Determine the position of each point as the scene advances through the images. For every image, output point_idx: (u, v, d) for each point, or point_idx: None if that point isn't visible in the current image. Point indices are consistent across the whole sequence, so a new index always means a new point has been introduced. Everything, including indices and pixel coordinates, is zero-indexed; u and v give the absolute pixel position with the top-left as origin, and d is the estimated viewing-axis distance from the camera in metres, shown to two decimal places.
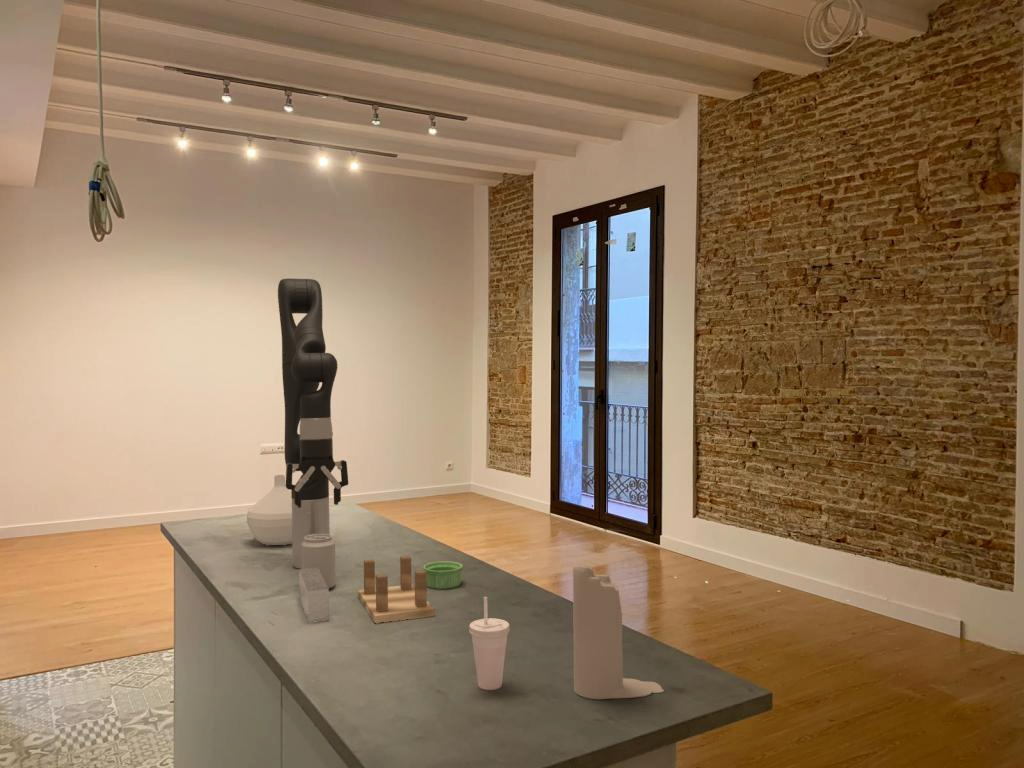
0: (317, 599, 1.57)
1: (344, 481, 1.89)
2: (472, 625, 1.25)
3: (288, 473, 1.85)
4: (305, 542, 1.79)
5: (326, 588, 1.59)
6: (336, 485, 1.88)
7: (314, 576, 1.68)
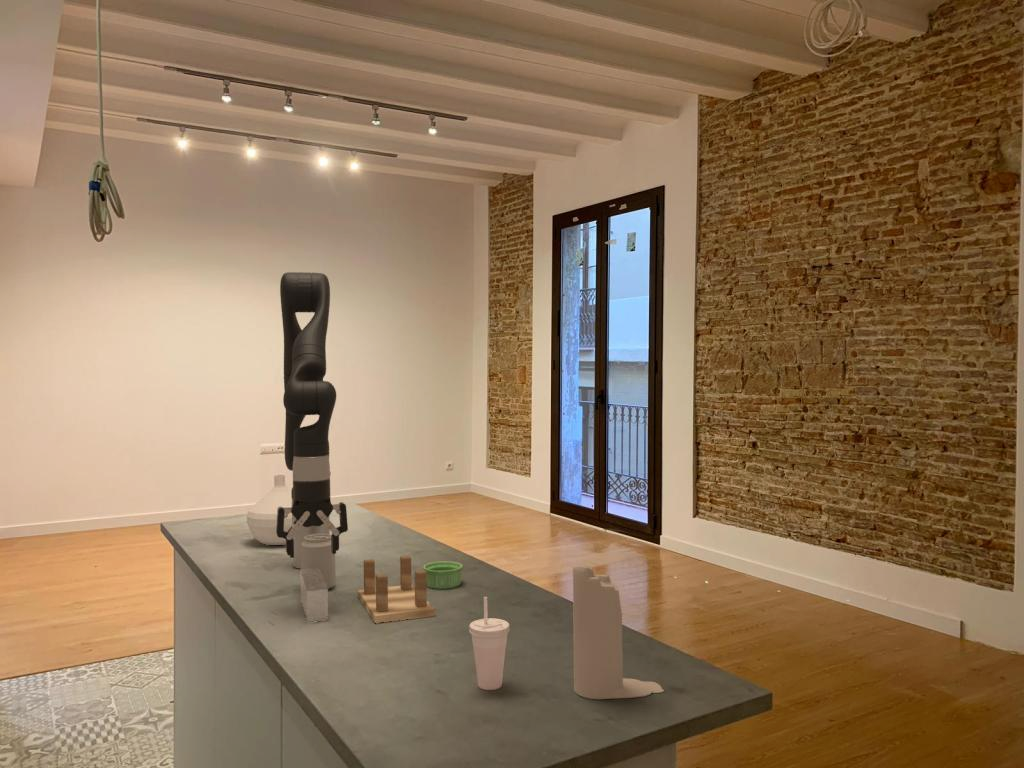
0: (316, 599, 1.57)
1: (343, 527, 1.66)
2: (472, 625, 1.25)
3: (279, 519, 1.62)
4: (305, 542, 1.79)
5: (325, 588, 1.58)
6: (334, 532, 1.66)
7: (314, 576, 1.68)
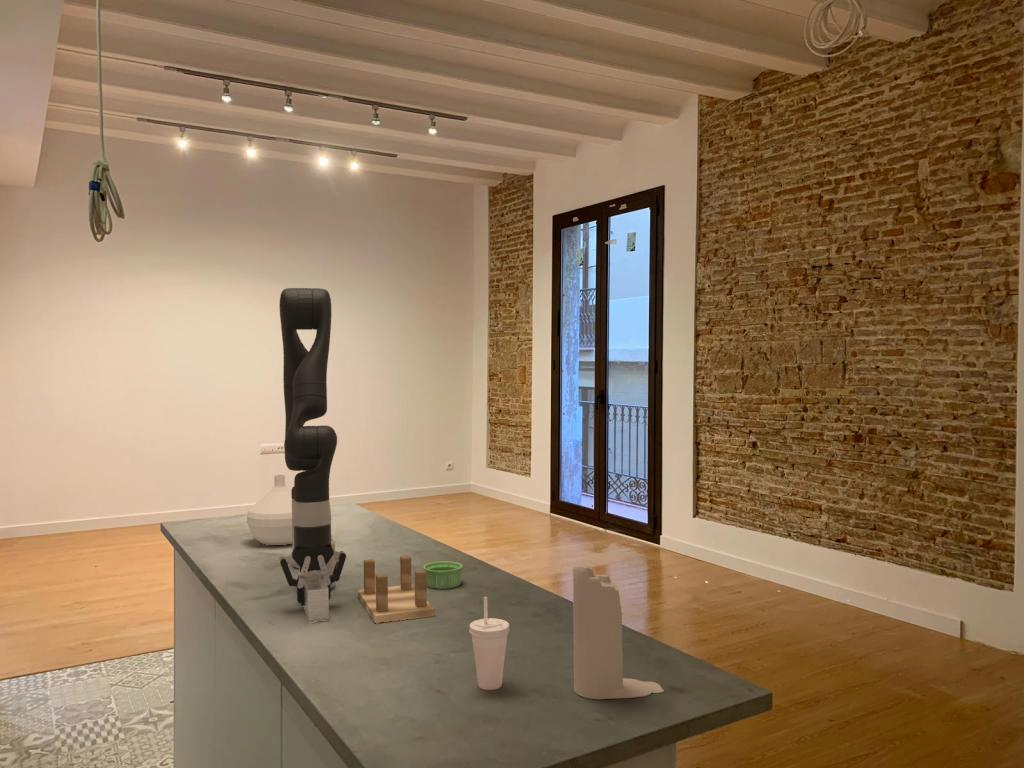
0: (317, 598, 1.57)
1: (334, 576, 1.66)
2: (472, 625, 1.25)
3: (284, 570, 1.63)
4: None
5: (326, 587, 1.58)
6: (325, 581, 1.65)
7: (314, 575, 1.68)
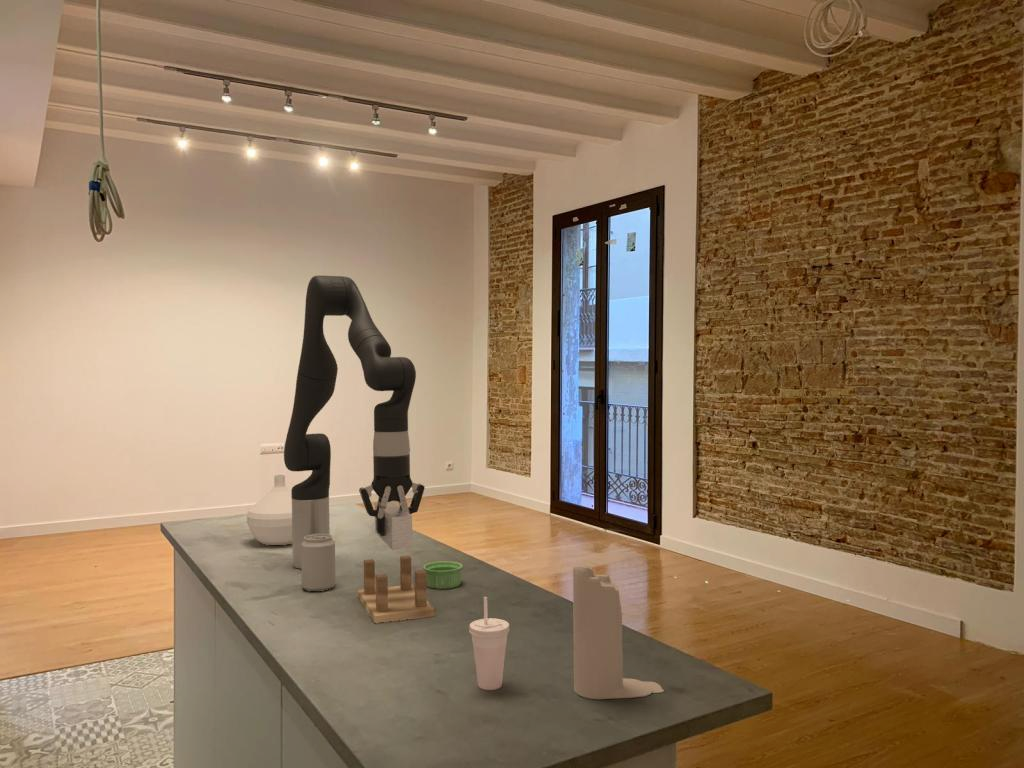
0: (401, 525, 1.58)
1: (413, 508, 1.67)
2: (472, 625, 1.25)
3: (365, 500, 1.63)
4: (305, 542, 1.79)
5: (409, 515, 1.59)
6: None
7: (392, 507, 1.68)
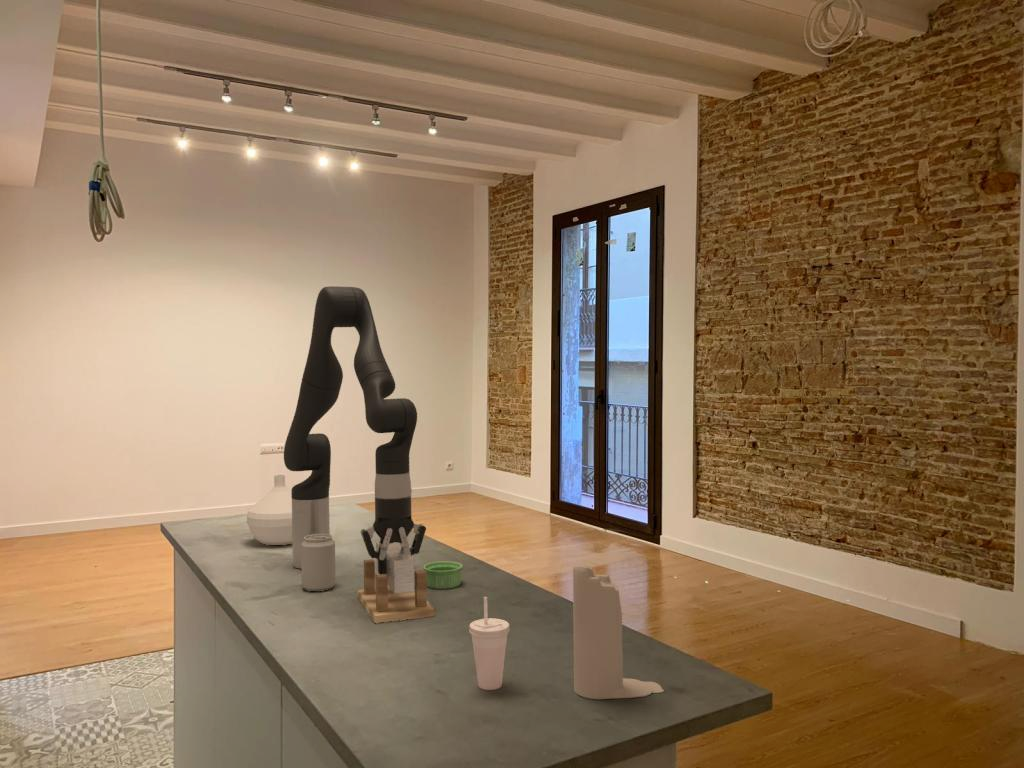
0: (403, 569, 1.58)
1: (415, 549, 1.67)
2: (472, 625, 1.25)
3: (367, 542, 1.63)
4: (305, 542, 1.79)
5: (411, 558, 1.59)
6: None
7: (394, 548, 1.68)
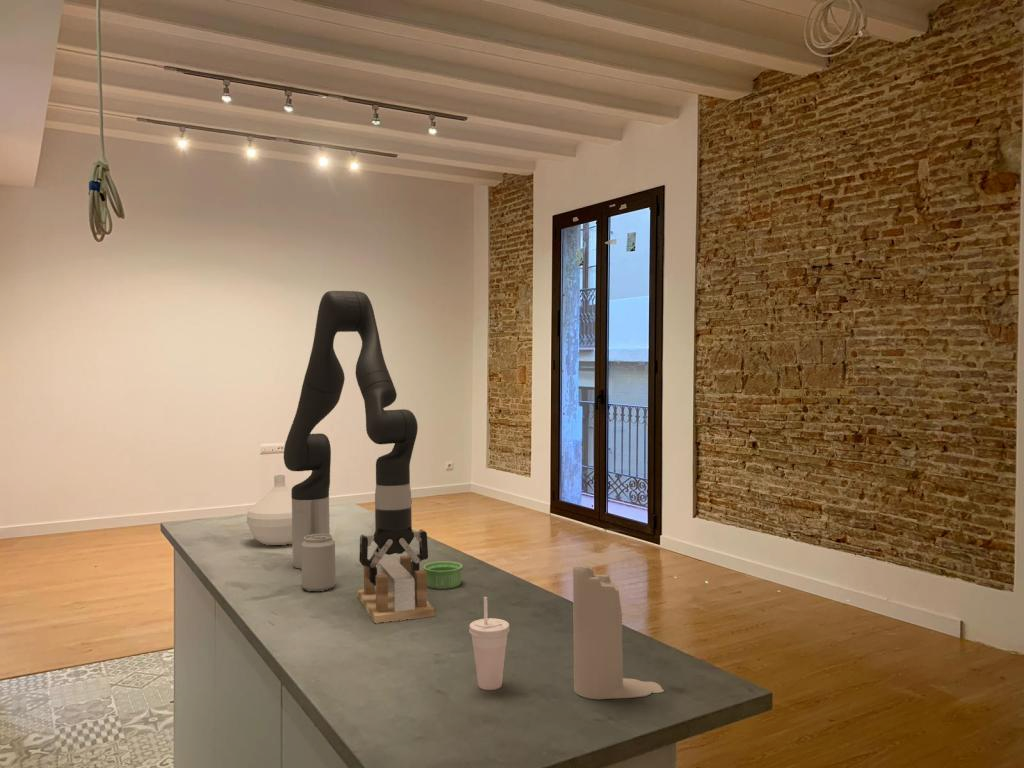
0: (403, 588, 1.58)
1: (423, 555, 1.68)
2: (472, 625, 1.25)
3: (363, 548, 1.63)
4: (305, 542, 1.79)
5: (411, 577, 1.60)
6: (415, 559, 1.67)
7: (394, 566, 1.69)
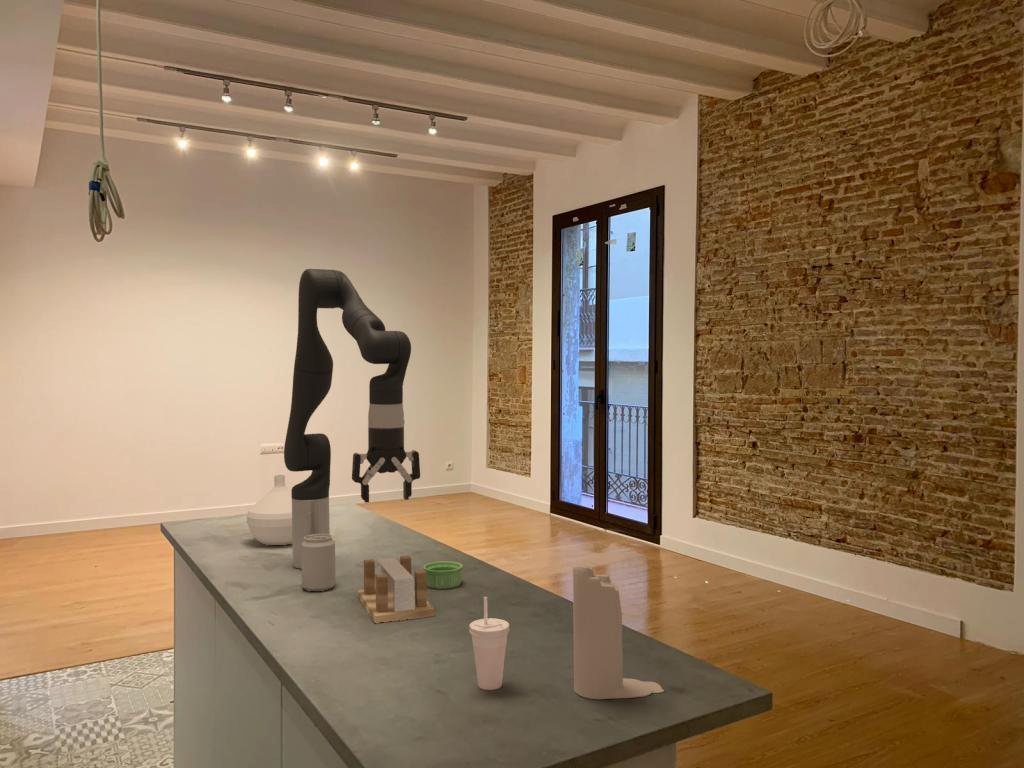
0: (403, 588, 1.58)
1: (416, 474, 1.71)
2: (472, 625, 1.25)
3: (356, 465, 1.66)
4: (305, 542, 1.79)
5: (411, 577, 1.60)
6: (407, 478, 1.70)
7: (394, 566, 1.69)
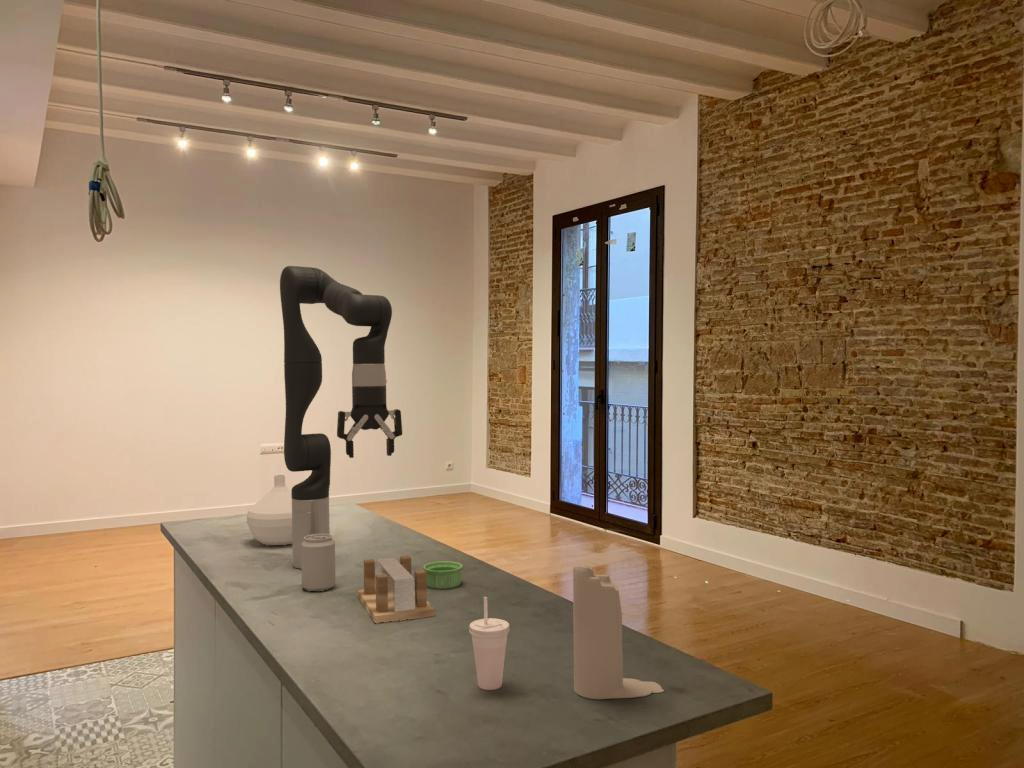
0: (403, 588, 1.58)
1: (398, 431, 1.79)
2: (472, 625, 1.25)
3: (340, 421, 1.75)
4: (305, 542, 1.79)
5: (411, 577, 1.60)
6: (390, 435, 1.79)
7: (394, 566, 1.69)
